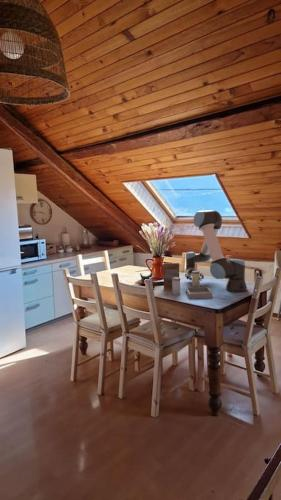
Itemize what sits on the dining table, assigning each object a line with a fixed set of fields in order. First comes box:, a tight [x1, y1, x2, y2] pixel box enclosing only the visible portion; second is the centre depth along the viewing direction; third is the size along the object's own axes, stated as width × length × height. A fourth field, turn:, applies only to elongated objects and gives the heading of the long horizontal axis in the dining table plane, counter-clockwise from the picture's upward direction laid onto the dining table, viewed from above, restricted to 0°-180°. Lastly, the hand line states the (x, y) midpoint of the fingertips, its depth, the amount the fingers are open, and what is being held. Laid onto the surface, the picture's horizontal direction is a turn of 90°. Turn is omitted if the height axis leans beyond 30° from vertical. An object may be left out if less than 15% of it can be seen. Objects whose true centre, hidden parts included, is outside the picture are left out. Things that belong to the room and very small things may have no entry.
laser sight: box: [139, 271, 156, 289], centre depth 280 cm, size 10×22×10 cm, turn 15°
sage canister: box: [191, 270, 201, 287], centre depth 262 cm, size 6×6×12 cm
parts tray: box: [185, 286, 213, 299], centre depth 251 cm, size 16×16×4 cm
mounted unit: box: [162, 262, 180, 292], centre depth 267 cm, size 8×12×20 cm, turn 90°
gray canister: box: [171, 277, 181, 296], centre depth 253 cm, size 6×6×12 cm
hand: (196, 279), depth 257 cm, fingers closed on sage canister, 5 cm apart
